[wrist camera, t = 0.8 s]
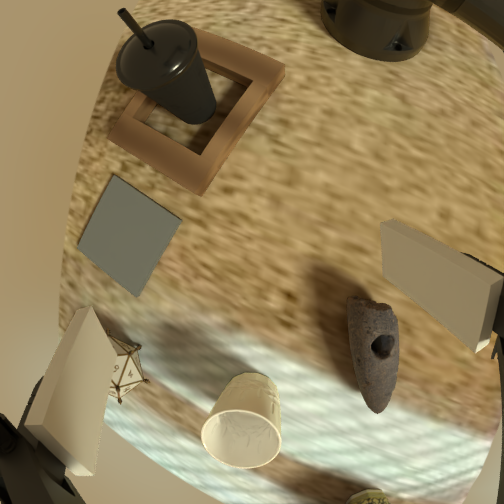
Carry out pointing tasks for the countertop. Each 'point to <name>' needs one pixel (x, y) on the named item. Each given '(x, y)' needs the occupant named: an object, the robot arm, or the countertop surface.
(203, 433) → the white cup
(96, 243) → the slate mat
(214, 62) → the holder frame
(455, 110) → the countertop surface
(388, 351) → the perforated stone tool
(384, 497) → the ceramic cup
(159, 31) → the drinking cup
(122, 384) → the game die
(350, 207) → the countertop surface
